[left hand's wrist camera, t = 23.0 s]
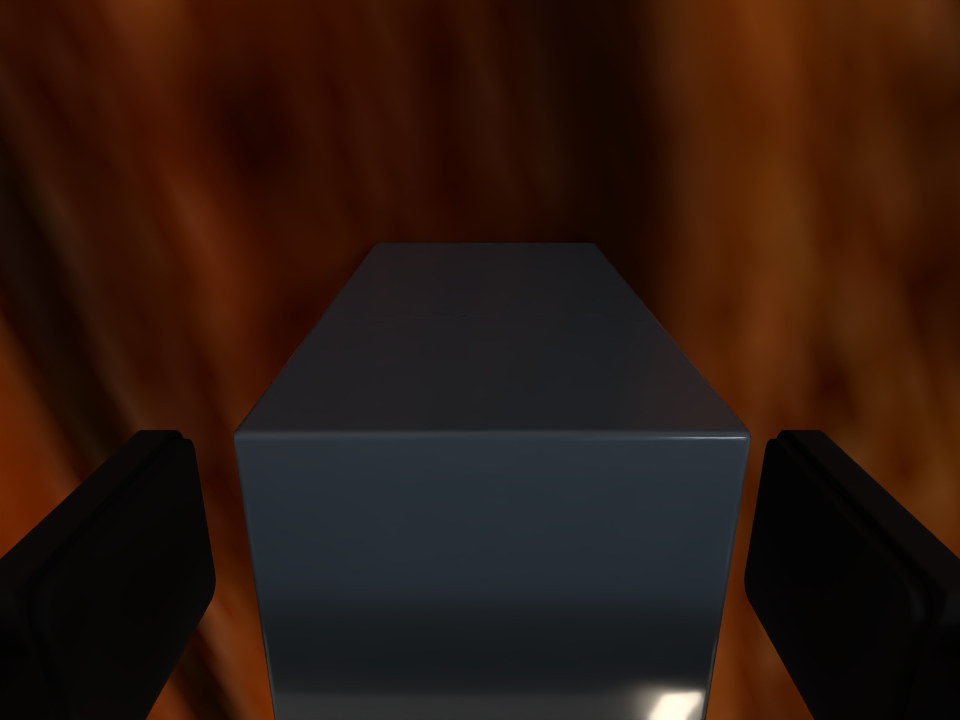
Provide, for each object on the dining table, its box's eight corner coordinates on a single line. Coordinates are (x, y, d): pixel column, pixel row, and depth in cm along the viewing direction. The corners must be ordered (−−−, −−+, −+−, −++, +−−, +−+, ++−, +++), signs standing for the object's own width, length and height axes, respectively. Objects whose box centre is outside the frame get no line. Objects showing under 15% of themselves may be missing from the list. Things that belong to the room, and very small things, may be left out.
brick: (388, 488, 17) (295, 880, 9) (374, 242, 15) (228, 432, 6) (580, 488, 17) (682, 879, 9) (595, 242, 15) (756, 432, 6)
